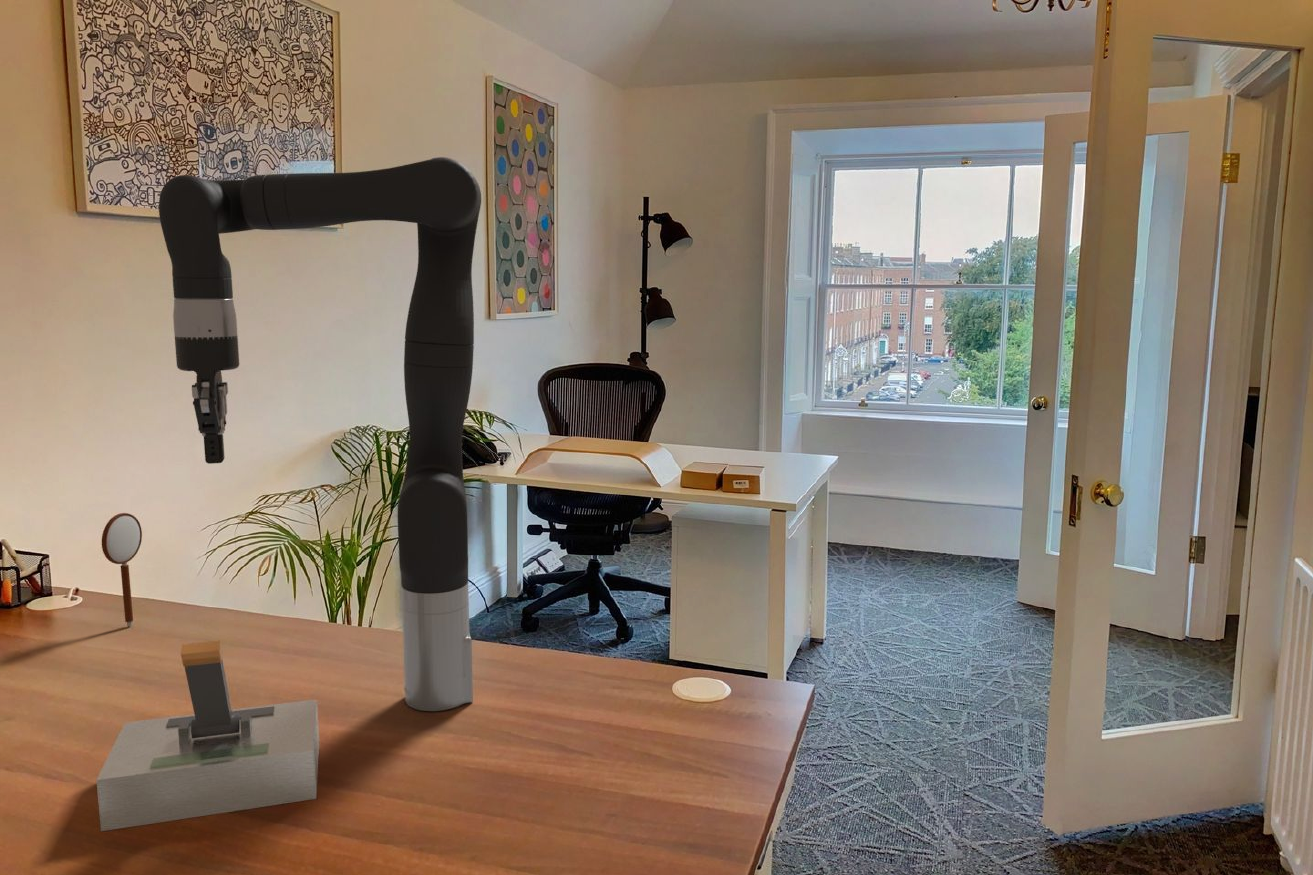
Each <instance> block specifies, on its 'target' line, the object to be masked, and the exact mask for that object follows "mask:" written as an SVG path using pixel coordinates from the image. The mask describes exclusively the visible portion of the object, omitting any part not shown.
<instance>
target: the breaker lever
mask: <svg viewBox="0 0 1313 875" xmlns="http://www.w3.org/2000/svg"><path fill="white" fill-rule="evenodd" d="M180 658H181V662H182V667H184V671H185V676H186V681H187V686H188V691H189V694H190V699H191V703H192V710H193V714H195V719H192V722H191V736H192V739H193V738H200V737H208V736H216V735H224V734H232V733H239V732H240V715H239V713H238V714H232V711H231V710H232V707H231V706H232V705H231V701H230V700H231V699H230V694H229V689H228V688H229V687H228V683H227V678H226V672H225V666H224V660H223V649H222V644H221V640H214V641H204V642H195V643H185V644H181V650H180Z"/></svg>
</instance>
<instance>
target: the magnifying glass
mask: <svg viewBox="0 0 1313 875" xmlns="http://www.w3.org/2000/svg"><path fill="white" fill-rule="evenodd" d="M101 534H102V535H101V549H102V553H103V555H104V557H105V558H106V560H108V561H109V562H111V563H113V564H116V565H120V574H121V586H122V597H123V598H122V599H123V600H122V601H123V608H124V610H123V611H124V620H125V621H124V622H125V623H126V626H127V627H132V625H133V621H134V616H133V614H134V613H133V605H132V604H133V601H132V589H131V579H130V578H131V577H130V567H129V564H128V563H129V562H130V561H131V560H133V558H134V557H136V556H137V554H138V552H139V549H140V548H141V544H142V540H143V539H142V538H143V537H142V536H143V531H142V526H141V524H140V521H139V519H138V518H137V517H135V515H133V514H131V513H127V512H123V513H122V512H121V513H118V514H116V515H113V517H111V518H110V519H109V520H108V521H107V523H106V524H105V527H104V528H103V531H102V533H101Z"/></svg>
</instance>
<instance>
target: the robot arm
mask: <svg viewBox="0 0 1313 875" xmlns="http://www.w3.org/2000/svg"><path fill="white" fill-rule="evenodd" d="M481 205H482V193H481V187H480V185H479V183H478V181H477V179H476V177H475V176H474V175H473V173H472V172H471V171H470V169H469V168H468V167H467V166H466V165H464V164H463V163H461V162H460V161H458V160H456V159H453V158H450V157H445V156H444V157H443V156H439V157H433V158H430V159H427V160H421V161H418V162H413V163H408V164H407V163H406V164H404V165H398V166H394V167H387V168H382V169H374V170H365V171H352V172H351V171H350V172H349V171H348V172H307V173H303V172H302V173H300V172H299V173H271V174H270V173H268V174H258V175H252V176H249V177H247V178H245V179H228V180H227V179H226V180H224V179H223V180H222V179H205V178H201V177H199V176H196V175H191V174H190V175H189V174H183V175H182V174H181V175H177V176H174V177H172V178H171V179H169V180H168V181H166V183H165V184H164V185H163V187H162V188H161V191H160V194H159V199H158V214H159V215H158V216H159V220H160V222H159V223H160V226H161V230H162V234H163V238H164V241H165V246H166V249H167V253H168V256H169V258H170V262H171V267H172V269H171V270H172V271H171V274H172V275H171V276H172V286H173V287H172V288H173V312H172V313H173V314H172V317H173V318H172V319H173V332H174V334H173V336H174V346H175V358H176V359H175V360H176V367H177V369H178V370H180V371H185V372H194V373H195V374H196V376H195V377H196V378H195V379H196V381H195V383H194V384H191V395H192V396H191V397H192V398H193V401H192V405H193V407H194V411H195V417H196V421H197V422H196V423H197V426H198V428H197V430H198V432H199V433H200V434H201V435H202V436H201V437H203V445H204V446H203V448H204V460H205V462H206V464H208V465H209V464H211V465H212V464H213V465H214V464H221V463H223V461H224V460H225V446H224V445H225V444H224V434H225V431H226V425H227V420H226V419H227V418H226V416H227V414H228V403H227V402H228V401H227V396H228V393H229V386H228V385H229V384H228V382H227V381H223V376H222V371H230V370H236V369H237V368H239V367H240V353H239V341H238V340H239V339H238V338H239V337H238V336H239V335H238V322H237V321H238V320H237V319H238V318H237V314H236V309H235V303H234V296H233V295H234V294H233V280H232V278H233V277H232V275H233V274H232V268H231V263H230V261H229V259H228V258H227V257H226V255H224V254H223V252H222V247H221V241H220V240H221V239H220V234H222V235H223V234H231V233H237V232H239V233H240V232H246V231H247V232H248V231H253V230H261V231H264V230H265V231H278V230H280V231H281V230H296V229H297V230H302V229H312V228H313V229H314V228H323V227H331V226H336V225H337V226H338V225H342V224H350V223H357V222H369V221H390V222H391V221H392V222H393V221H395V222H406V223H412V224H413V223H414V224H416V225H417V249H418V250H417V252H418V253H417V255H418V256H417V257H418V258H417V269H416V276H415V281H414V284H413V290H412V293H411V297H410V302H409V307H408V313H407V319H406V323H405V335H404V353H403V354H404V355H403V356H404V357H403V361H404V362H403V377H404V378H403V379H404V392H405V393H404V395H405V402H406V403H405V404H406V411H407V418H408V427H409V428H408V429H409V435H408V436H409V438H408V439H409V440H408V441H409V442H408V448H407V457H406V464H405V465H406V466H405V472H404V478H403V483H402V486H401V490H400V495H399V499H398V504H397V538H398V561H399V563H398V564H399V571H400V583H401V584H400V585H401V586H400V587H401V609H402V611H401V612H402V639H403V640H402V641H403V668H404V672H403V673H404V696H405V697H404V698H405V699H404V700H405V703H406V705H407V706H408V707H410V708H412V709H415V710H418V711H423V712H425V711H426V712H441V711H446V710H451V709H455V708H457V707H460V706H462V705H464V704H468V703H473V702H474V686H473V685H474V683H473V680H474V679H473V676H474V673H473V641H472V640H473V639H472V637H471V633H470V603H469V602H470V599H469V594H470V593H469V548H468V546H469V545H468V544H469V541H468V540H469V539H468V538H469V537H468V536H469V535H468V528H469V527H468V507H467V506H468V505H467V493H466V489H465V483H464V480H465V479H464V470H463V469H464V468H463V429H464V423H465V419H466V414H467V409H468V406H469V405H468V404H469V400H470V392H471V388H472V387H471V385H472V378H473V368H474V349H475V348H474V345H475V342H474V341H475V335H474V334H475V328H474V327H475V326H474V325H475V322H474V320H475V318H474V317H475V314H474V292H473V279H472V278H473V277H472V275H473V274H472V271H473V270H472V268H473V255H474V250H475V249H474V248H475V241H476V234H477V228H478V221H479V215H480V213H481V212H480V211H481Z"/></svg>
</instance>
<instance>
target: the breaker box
mask: <svg viewBox="0 0 1313 875" xmlns="http://www.w3.org/2000/svg"><path fill="white" fill-rule="evenodd" d="M231 711H232V714H238V713H239V715H240V732H239V733H232V734H224V735H216V736H208V737H200V738H193V739H192V736H191V722H192V719H195V714H194V713H191V714H185V715H177V716H176V715H175V716H174V715H173V716H168V717H159V718H151V719H143V720H136V721H135V720H134V721H126V722H124V723H123V725H122V727H121V729H120V731H119V734H118V736H117V738H116V739H115V742H114V744H113V746H112V748H111V750H110V751H109V754H108V756H107V758H106V759H105V762H104V764H103V766H102V768H101V770H100V772H99V774H98V776H97V778H96V781H95V782H96V791H97V792H96V793H97V802H98V811H99V812H98V814H99V821H100V822H99V823H100V824H99V825H100V831H101V832H105V831H113V830H118V829H125V828H130V827H131V828H133V827H138V826H145V825H151V824H152V825H153V824H158V823H165V822H171V821H178V820H185V819H192V818H197V817H198V818H199V817H204V816H205V817H206V816H211V815H212V816H213V815H217V814H225V813H231V812H239V811H244V810H252V809H257V808H264V807H270V806H278V805H282V804H290V803H296V802H303V801H310V800H316V799H317V790H318V773H319V772H318V770H319V751H320V733H319V731H320V730H319V715H318V714H319V713H318V700H317V699H309V700H302V701H292V702H285V703H284V702H283V703H275V704H267V705H259V706H251V707H250V706H249V707H242V708H241V707H240V708H235V709H234V708H233V709H231Z"/></svg>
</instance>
